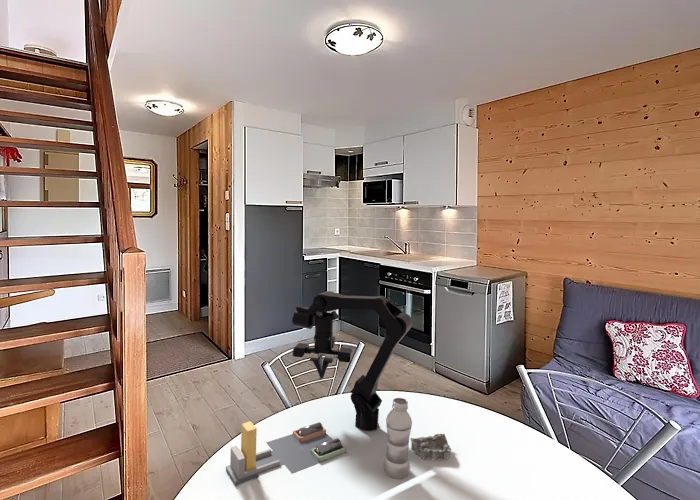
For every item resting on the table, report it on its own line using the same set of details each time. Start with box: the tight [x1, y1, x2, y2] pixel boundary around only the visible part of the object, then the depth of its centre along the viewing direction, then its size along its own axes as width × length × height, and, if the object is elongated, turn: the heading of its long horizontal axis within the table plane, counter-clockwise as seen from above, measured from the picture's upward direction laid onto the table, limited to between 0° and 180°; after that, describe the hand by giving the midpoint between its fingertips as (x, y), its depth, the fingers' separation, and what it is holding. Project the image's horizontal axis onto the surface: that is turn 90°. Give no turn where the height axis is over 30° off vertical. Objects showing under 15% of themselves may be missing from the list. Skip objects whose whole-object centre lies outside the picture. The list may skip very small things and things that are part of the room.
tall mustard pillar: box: [240, 420, 258, 471], centre depth 102 cm, size 2×4×11 cm, turn 35°
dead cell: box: [298, 421, 324, 437], centre depth 119 cm, size 7×3×3 cm, turn 125°
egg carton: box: [410, 433, 452, 461], centre depth 114 cm, size 11×8×4 cm
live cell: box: [316, 437, 342, 456], centre depth 111 cm, size 7×3×3 cm, turn 125°
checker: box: [225, 426, 348, 486], centre depth 109 cm, size 30×16×6 cm, turn 125°
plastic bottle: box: [383, 397, 413, 480], centre depth 103 cm, size 6×7×20 cm
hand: (321, 377), depth 130 cm, fingers closed
